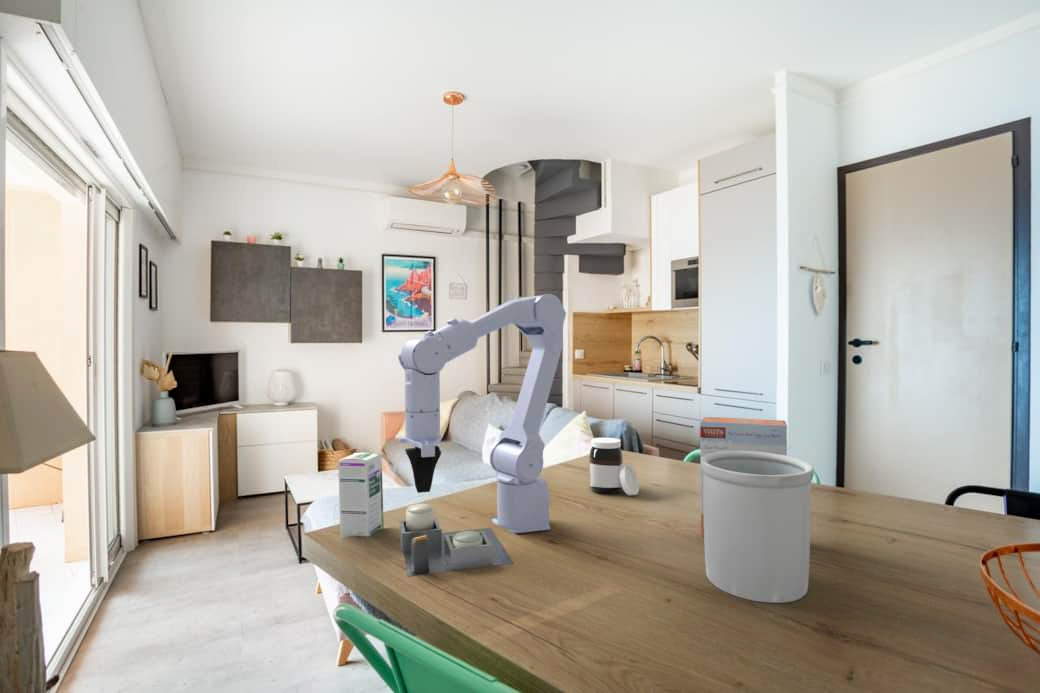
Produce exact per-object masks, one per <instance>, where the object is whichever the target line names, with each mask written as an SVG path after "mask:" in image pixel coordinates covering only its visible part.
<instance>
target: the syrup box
mask: <svg viewBox="0 0 1040 693" xmlns="http://www.w3.org/2000/svg"><path fill="white" fill-rule="evenodd" d="M382 456H383V455H382V454H381V453H380V452H379V453H377V452H365V451H364V452H354V453H352V454H350V455H348V456H346V457H343V458H340V459H339V460H338V461H337V462H338V466H337V468H338V495H339V496H338V498H339V499H338V500H339V503H338V504H339V529H340V531H339V532H340V539H344V538H349V537H353V536H358V537H370V536H372V535H373V534H375V533H376V532H378V531H380V530H384V529H385V526H384V524H385V522H384V496H383V494H384V492H383V491H384V490H383V462H382V461H383V460H382Z"/></svg>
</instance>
